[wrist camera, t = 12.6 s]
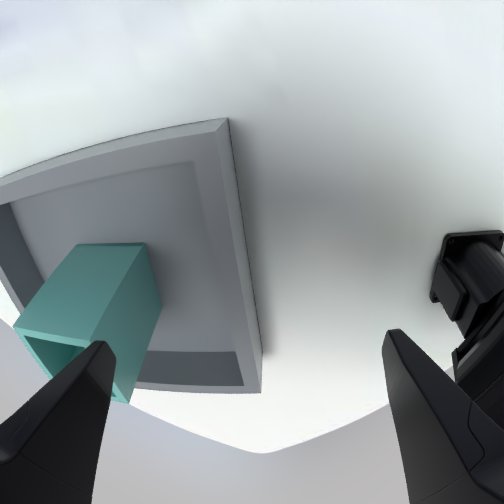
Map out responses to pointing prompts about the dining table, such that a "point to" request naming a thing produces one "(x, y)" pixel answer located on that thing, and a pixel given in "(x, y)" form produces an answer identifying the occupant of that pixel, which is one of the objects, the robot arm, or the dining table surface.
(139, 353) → the box
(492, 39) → the dining table surface
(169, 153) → the grey square tray
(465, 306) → the robot arm
